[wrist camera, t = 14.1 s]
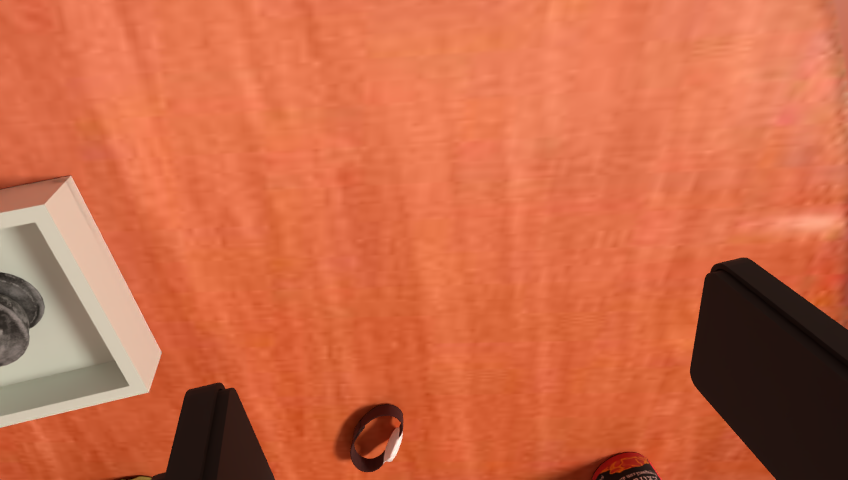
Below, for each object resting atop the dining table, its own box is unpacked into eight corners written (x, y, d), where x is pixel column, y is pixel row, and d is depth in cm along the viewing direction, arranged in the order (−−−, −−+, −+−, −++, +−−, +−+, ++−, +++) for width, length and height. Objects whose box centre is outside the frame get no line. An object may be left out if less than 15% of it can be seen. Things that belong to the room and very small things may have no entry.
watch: (380, 456, 56) (385, 487, 53) (338, 449, 55) (340, 480, 52) (413, 404, 54) (420, 433, 50) (369, 394, 52) (374, 424, 49)
